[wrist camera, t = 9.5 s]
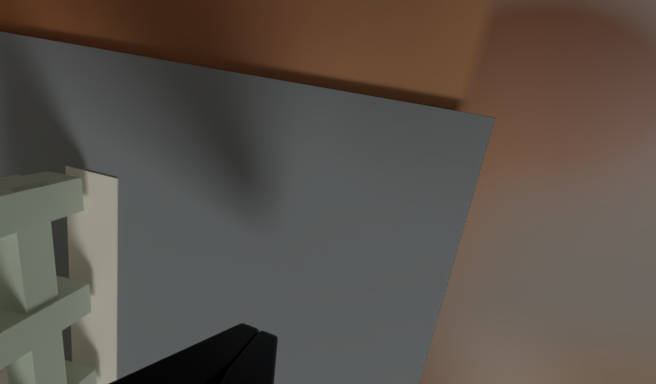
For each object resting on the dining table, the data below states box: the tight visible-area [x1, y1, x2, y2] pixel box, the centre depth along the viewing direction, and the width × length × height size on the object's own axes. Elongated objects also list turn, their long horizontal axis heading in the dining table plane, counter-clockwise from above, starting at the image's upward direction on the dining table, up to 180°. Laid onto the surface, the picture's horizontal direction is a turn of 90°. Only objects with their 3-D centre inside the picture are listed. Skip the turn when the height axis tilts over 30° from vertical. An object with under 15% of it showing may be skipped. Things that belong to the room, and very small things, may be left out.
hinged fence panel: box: [0, 171, 97, 384], centre depth 10 cm, size 8×1×4 cm, turn 175°
